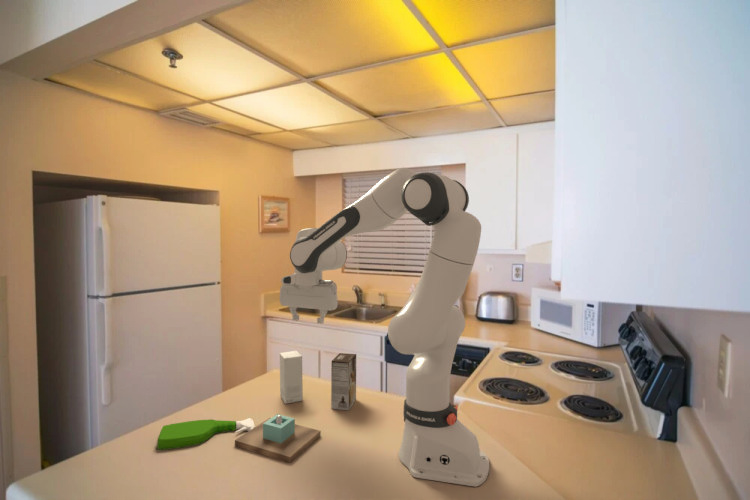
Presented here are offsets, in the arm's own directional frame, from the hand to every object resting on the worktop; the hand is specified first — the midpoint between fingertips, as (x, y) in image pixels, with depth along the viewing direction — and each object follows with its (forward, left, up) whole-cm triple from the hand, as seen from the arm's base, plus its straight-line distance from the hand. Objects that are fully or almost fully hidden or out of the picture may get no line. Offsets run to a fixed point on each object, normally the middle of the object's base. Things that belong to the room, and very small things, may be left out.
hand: (308, 321), depth 118 cm
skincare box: (+11, -6, -29) cm, 32 cm away
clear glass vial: (-3, +18, -28) cm, 34 cm away
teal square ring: (-3, +18, -28) cm, 33 cm away
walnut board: (-3, +18, -29) cm, 34 cm away
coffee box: (-8, -10, -29) cm, 32 cm away
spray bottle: (+17, +23, -30) cm, 42 cm away
